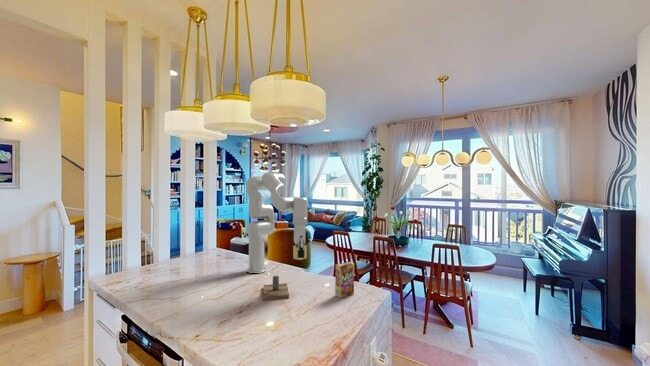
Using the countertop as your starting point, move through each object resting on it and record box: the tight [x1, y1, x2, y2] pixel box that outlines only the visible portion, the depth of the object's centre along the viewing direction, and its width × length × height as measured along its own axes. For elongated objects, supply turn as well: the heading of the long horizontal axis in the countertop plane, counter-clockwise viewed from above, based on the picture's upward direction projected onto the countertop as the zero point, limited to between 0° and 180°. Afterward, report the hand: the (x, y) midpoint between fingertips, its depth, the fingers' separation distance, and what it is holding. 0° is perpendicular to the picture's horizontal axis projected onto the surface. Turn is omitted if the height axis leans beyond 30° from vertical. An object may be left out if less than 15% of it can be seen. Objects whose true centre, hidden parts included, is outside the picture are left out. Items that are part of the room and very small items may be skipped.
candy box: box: [334, 261, 355, 299], centre depth 127 cm, size 9×4×15 cm, turn 123°
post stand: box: [262, 275, 290, 301], centre depth 130 cm, size 16×12×8 cm
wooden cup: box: [292, 244, 308, 261], centre depth 134 cm, size 7×7×6 cm
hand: (299, 255), depth 134 cm, fingers closed on wooden cup, 6 cm apart
